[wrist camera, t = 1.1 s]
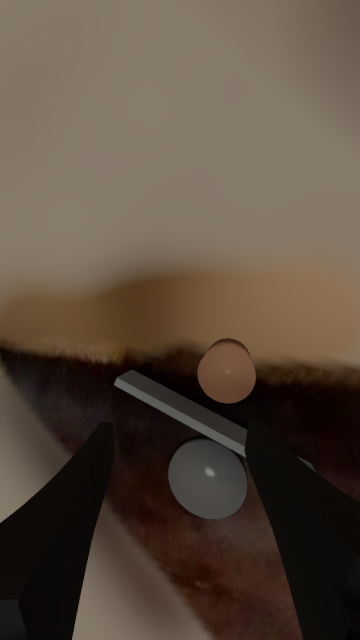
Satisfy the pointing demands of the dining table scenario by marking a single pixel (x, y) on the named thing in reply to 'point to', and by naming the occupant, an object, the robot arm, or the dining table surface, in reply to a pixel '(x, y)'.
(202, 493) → the slate coaster
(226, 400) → the terracotta cylinder
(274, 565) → the dining table surface
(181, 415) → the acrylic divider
